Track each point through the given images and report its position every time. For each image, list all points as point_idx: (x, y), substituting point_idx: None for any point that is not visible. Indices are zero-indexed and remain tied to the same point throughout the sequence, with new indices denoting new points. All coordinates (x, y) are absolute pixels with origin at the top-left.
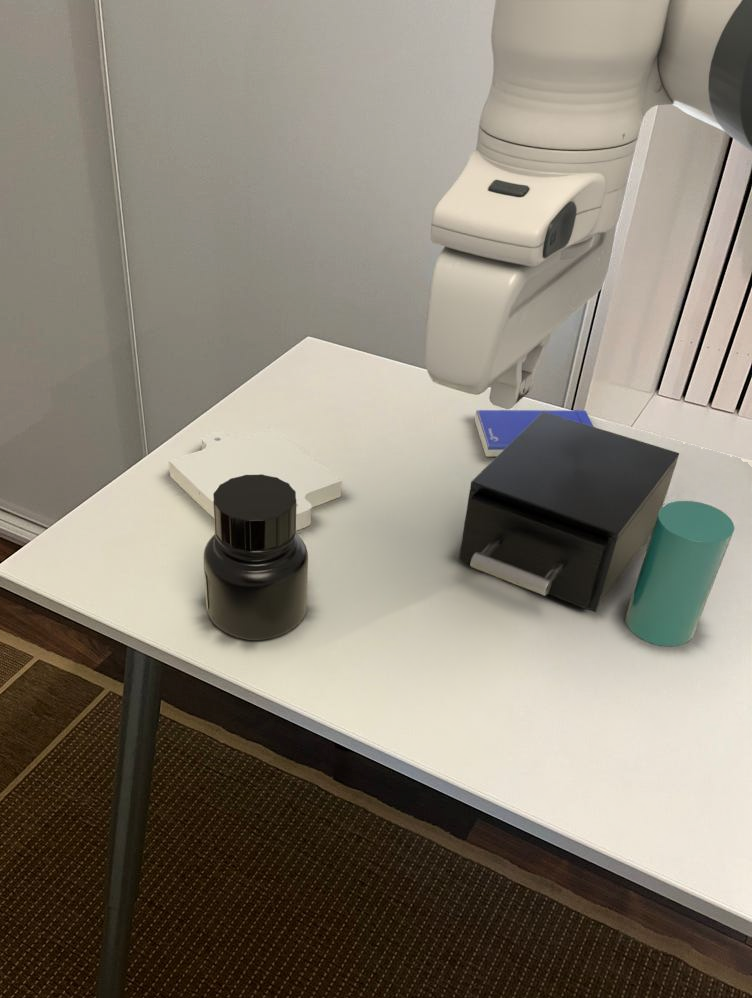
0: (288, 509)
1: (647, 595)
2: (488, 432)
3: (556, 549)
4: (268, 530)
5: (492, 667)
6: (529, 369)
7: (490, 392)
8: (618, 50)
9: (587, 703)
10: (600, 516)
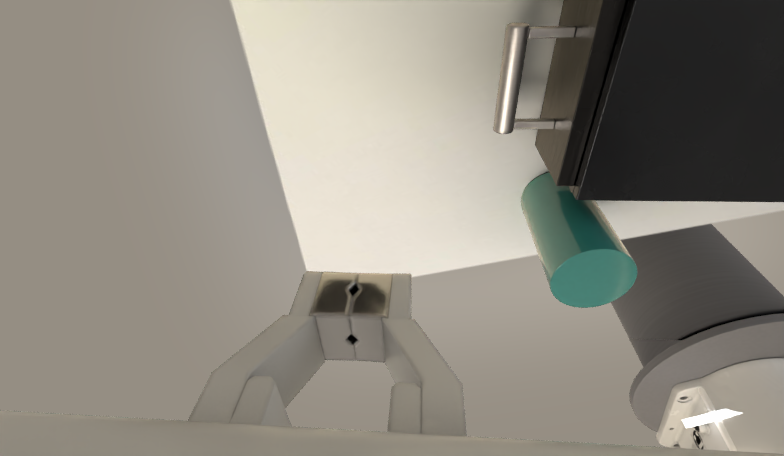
0: None
1: (537, 212)
2: None
3: (560, 123)
4: None
5: (408, 97)
6: (388, 363)
7: (299, 286)
8: None
9: (415, 183)
10: (607, 172)
